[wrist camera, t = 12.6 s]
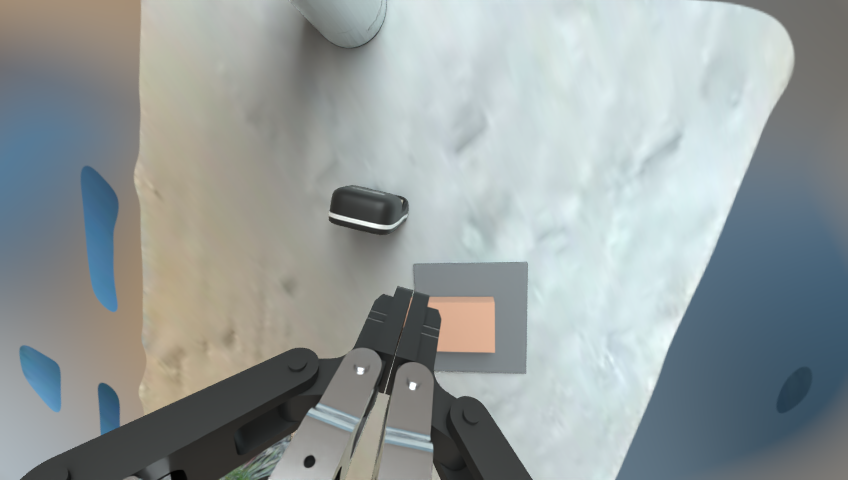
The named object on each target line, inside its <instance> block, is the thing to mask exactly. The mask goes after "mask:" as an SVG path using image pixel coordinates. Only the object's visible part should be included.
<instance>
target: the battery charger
mask: <svg viewBox="0 0 848 480" xmlns="http://www.w3.org/2000/svg"><path fill="white" fill-rule="evenodd" d="M328 215H329V221H330V222H331V223H333V224H336V225H340V226H344V227H348V228H352V229H356V230H360V231H364V232H368V233H373V234H379V235H387V234H389V233H391V232H393V231H394V230H395V229H397V228H398V227H399V225H400V224H401V223H403V222H404V221H406V218H407V217H408V201H407V199H406V198H404V197H401V196H397V195H393V194H390V193H385V192H381V191H376V190H372V189H368V188H364V187H359V186H354V185H351V186H345V187H341V188H338V189H336V190H335V191H334V193H333V195H332V199H331V206H330V210H329V212H328Z"/></svg>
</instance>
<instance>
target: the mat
mask: <svg viewBox="0 0 848 480" xmlns="http://www.w3.org/2000/svg"><path fill="white" fill-rule="evenodd" d="M414 281H415V291H417V292H421V293H424V294H428V295H430V297H493V298H494V302H495V353H489V352H444V351H437V352H436V359H435V365H434V371H461V372H494V373H526V349H527V282H528V263H527V262H497V263H435V264H414Z"/></svg>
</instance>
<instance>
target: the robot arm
mask: <svg viewBox="0 0 848 480" xmlns="http://www.w3.org/2000/svg"><path fill="white" fill-rule="evenodd" d="M288 1H289V2H290V3H291V4H292V5H293V6H294V7H295V8H296V9H297V10H298V11H299V12H300V13H301V14H302V15H303V16H304V17H305V18H306V19H307V20H308V21H309V22H310V23H311V24H312V25H313V26H314V27H315V28H316V29H317V30H318V31H319V32H320V33H321V34H322V35H323V36H324V37H325V38H326V39H328V40H329V41H330V42H332V43H333V44H335V45H337V46H341V47H349V48H352V47H357V46H360V45H362V44H364V43H367V42H368V41H369V40H370V39H372V38H373V37H374V36H375V34H376V33H377V32H378V31H379V29H380V27H381V25H382V23H383V20H384V17H385V14H386V5H387V4H386V0H288ZM412 293H413V290H410V289H406V288H403V287H399V286H398V287H397V289H396V292H395V294H394V297H392V296H388V295H385V294H383V295H381V296H380V297H379V298H378V299H376V300H375V302H374V304H373V306H372V308H371V311H370V313H369V315H368V318H367V320H366V322H365V324H364V326H363V328H362V331H361V333H360V335H359V337H358V340H357V342H356V344H355V346H354V348H353V349H352V350H351V351H350V352H349V353H347V354H346V355H344V356H342V357H339V358H332V359H318V357H317V355H316V354H315V353H314V352H313V351H312V350H310V349H307V348H295V349H291V350H289V351H286V352H284V353H282V354H280V355H278V356H275V357H273V358H271V359H269V360H267V361H264V362H262V363H260V364H258V365H256V366H253V367H251V368H249V369H247V370H245V371H242V372H240V373H238V374H236V375H234V376H231V377H229V378H227V379H225V380H222V381H220V382H218V383H216V384H214V385H211V386H209V387H207V388H205V389H203V390H200V391H198V392H196V393H194V394H192V395H189V396H187V397H185V398H183V399H181V400H178V401H176V402H174V403H172V404H170V405H167V406H165V407H163V408H161V409H159V410H156V411H154V412H152V413H150V414H148V415H145V416H143V417H141V418H139V419H137V420H134V421H132V422H130V423H128V424H125V425H123V426H121V427H119V428H117V429H114V430H112V431H110V432H108V433H106V434H103V435H101V436H99V437H97V438H95V439H92V440H90V441H88V442H86V443H84V444H81V445H79V446H77V447H75V448H73V449H70V450H68V451H66V452H64V453H62V454H59V455H57V456H55V457H53V458H51V459H49V460H47V461H45V462H43V463H41V464H40V465H38V466H37V467H35V468H34V469H32V470H31V471H30V472H28V473H27V474H26V475H25V476H23V477H22V478H21V479H20V480H219V479H220V478H222V477H224V476H225V475H227V474H228V473H230V472H231V471H233V470H235V469H236V468H238V467H239V466H241V465H242V464H244V463H246V462H247V461H249V460H250V459H252V458H254V457H255V456H257V455H258V454H260V453H261V452H263V451H265V450H266V449H268V448H269V447H271V446H272V445H274V444H276V443H277V442H279V441H280V440H282V439H284V438H285V437H287V436H288V435H290V434H291V433H293V432H295V431H296V430H297V431H296V433H295V434H294V436H293V438H292V440H291V441H290V443H289V445H288V446H287V448H286V450H285V451H284V453H283V455H282V457H281V458H280V460H279V462H278V463H277V465H276V467H275V469H274V470H273V472H272V474H271V475H267V476H264V477H262V478H260V479H257V480H345V478H346V475H347V472H348V469H349V466H350V463H351V461H352V458H353V456H354V453H355V451H356V448H357V446H358V443H359V441H360V438H361V436H362V433H363V431H364V428H365V426H366V423H367V421H368V418H369V416H370V413H371V410H372V409H373V407H374V404H375V401H376V398H377V395H378V392H380V393H383V394H384V390H385V387H386V384H387V380H388V377H389V374H390V370H391V367H392V363H393V360H394V363H393V367H392V370H391V374H390V378H389V382H388V385H387V389H386V393H385V394H387V395H390V397H389V401H388V404H387V408H386V412H385V415H384V420H383V425H382V430H381V435H380V440H379V445H378V450H377V455H376V460H375V465H374V470H373V475H372V479H371V480H432V466H433V464H434V466H435V468H436V470H437V472H438V474H439V477H440V479H441V480H533V479H532V478H531V476H530V475H529V473H528V472H527V470H526V469H525V467H524V466H523V464H522V463H521V461H520V460H519V458H518V457H517V455H516V453H515V452H514V450H513V449H512V447H511V446H510V444H509V443H508V441H507V440H506V438H505V437H504V435H503V434H502V432H501V430H500V429H499V427H498V426H497V424H496V423H495V421H494V420H493V418H492V417H491V415H490V414H489V412H488V411H487V409H486V408H485V406H484V405H483V404H482V403H481V402H480V401H478V400H477V399H475V398H472V397H469V396H463V397H459V398H455V397H454V396H452V395H451V394H449V393H448V392H446V391H445V390H444V389H442V388H441V386H440V385H439V384H438V382H437V381H436V378H435V375H434V365H435V359H436V352H437V346H438V338H439V333H440V327H441V320H442V319H441V316H440V313H439V310H438V309H434V308H431V307H427V306H428V302H429V297H430V295H428V294H424V293H421V292H417V291H414V294H413V298H412V301H411V297H412ZM410 301H411V304H410ZM409 304H410V308H409ZM408 308H409V311H408ZM407 312H408V315H407ZM406 316H407V318H406ZM405 319H406V321H405ZM404 323H405V325H404ZM403 326H404V328H403ZM402 330H403V332H402ZM401 333H402V335H401ZM400 336H401V338H400ZM399 340H400V342H399ZM398 343H399V345H398ZM397 347H398V348H397ZM396 350H397V352H396ZM395 353H396V355H395ZM394 357H395V359H394Z"/></svg>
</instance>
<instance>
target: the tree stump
mask: <svg viewBox="0 0 848 480" xmlns="http://www.w3.org/2000/svg"><path fill="white" fill-rule="evenodd" d="M290 441H291V434H290V435H288V436H287V437H285V438H284V439H282V440H280V441H279V442H277V443H276V444H274V445H272V446H271V447H269V448H268V449H266V450H265V451H263V452H261V453H260V454H258V455H257V456H255V457H254V458H252V459H250V460H249V461H247V462H246V463H244V464H242V465H241V466H239V467H238V468H236V469H235V470H233V471H231V472H230V473H228V474H227V475H225V476H224V477H222V478H220V479H219V480H257V479H260V478H262V477H264V476H267V475H271V474H272V472H273V470H274V469H275V467H276V465H277V463H278V462H279V460H280V458H281V457H282V455H283V453H284V451H285V450H286V448H287V446H288V445H289V443H290Z"/></svg>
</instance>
